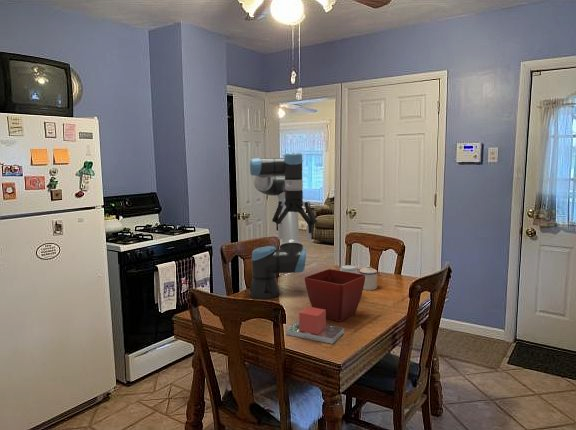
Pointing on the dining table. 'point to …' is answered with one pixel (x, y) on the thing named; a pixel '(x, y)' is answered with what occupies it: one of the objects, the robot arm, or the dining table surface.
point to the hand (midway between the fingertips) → (294, 239)
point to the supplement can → (349, 268)
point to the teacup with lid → (369, 278)
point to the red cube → (312, 320)
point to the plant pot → (335, 292)
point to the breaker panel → (325, 335)
